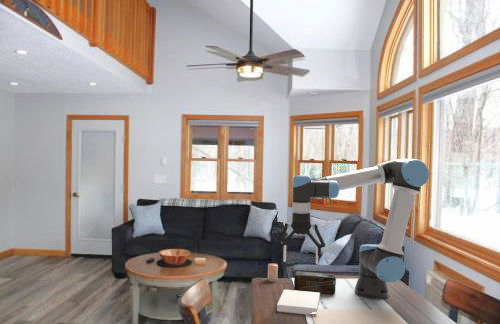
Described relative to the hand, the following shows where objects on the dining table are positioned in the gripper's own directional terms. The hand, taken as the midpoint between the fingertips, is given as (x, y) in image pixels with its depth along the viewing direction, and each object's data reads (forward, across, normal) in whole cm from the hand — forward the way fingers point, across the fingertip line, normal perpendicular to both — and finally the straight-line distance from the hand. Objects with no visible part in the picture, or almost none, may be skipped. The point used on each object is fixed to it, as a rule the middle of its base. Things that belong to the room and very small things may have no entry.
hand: (300, 262), depth 175 cm
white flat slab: (+18, 0, 0) cm, 18 cm away
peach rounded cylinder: (+18, +17, -32) cm, 41 cm away
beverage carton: (+20, +4, -21) cm, 29 cm away
